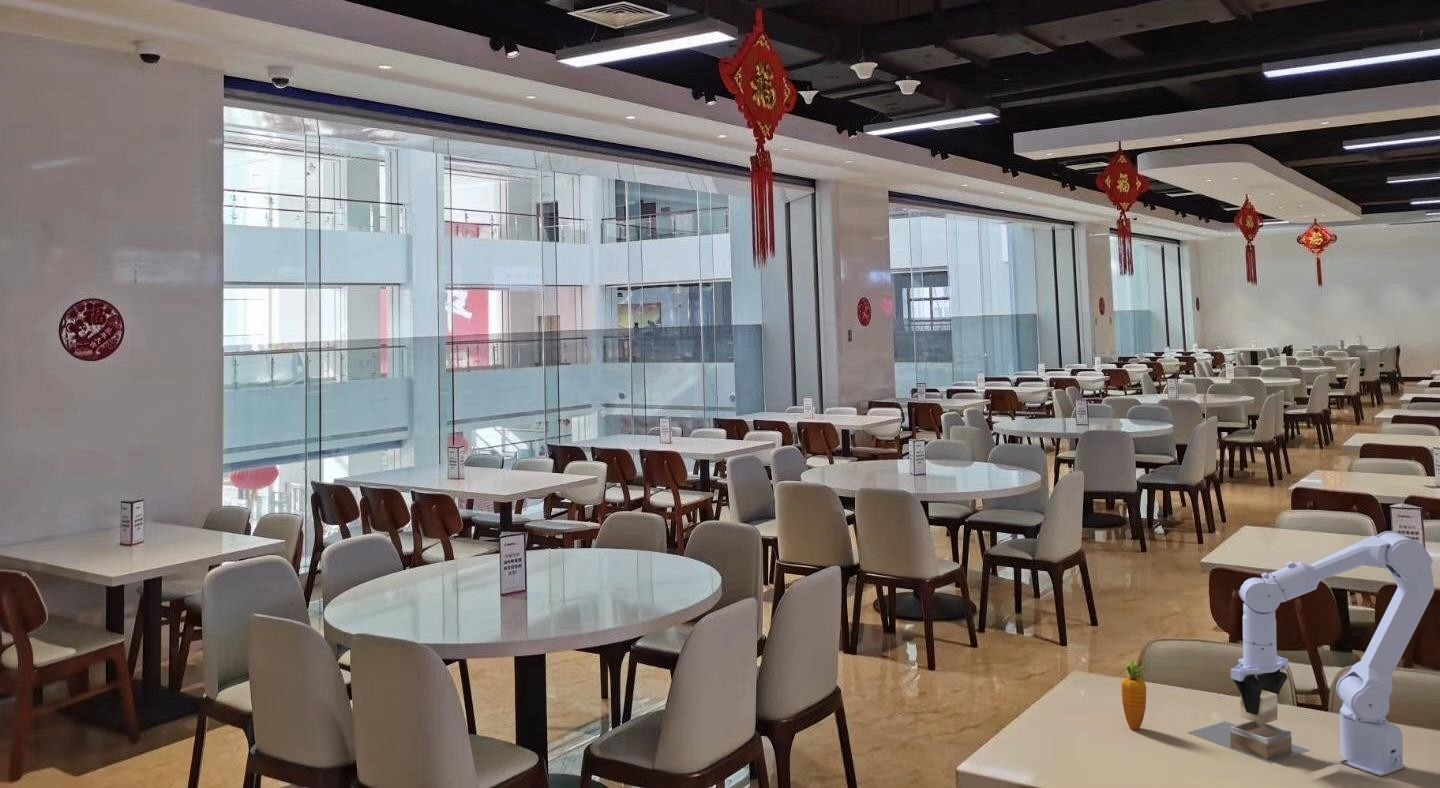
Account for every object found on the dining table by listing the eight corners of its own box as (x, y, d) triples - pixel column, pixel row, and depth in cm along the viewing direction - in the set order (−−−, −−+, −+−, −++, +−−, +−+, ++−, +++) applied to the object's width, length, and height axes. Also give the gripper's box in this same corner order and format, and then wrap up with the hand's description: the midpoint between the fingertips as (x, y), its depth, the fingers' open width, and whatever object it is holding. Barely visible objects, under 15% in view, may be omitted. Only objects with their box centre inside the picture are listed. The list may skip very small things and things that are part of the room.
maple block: (1277, 719, 191) (1277, 694, 191) (1262, 724, 189) (1262, 698, 189) (1255, 712, 195) (1255, 687, 195) (1240, 717, 193) (1240, 691, 193)
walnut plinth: (1291, 751, 191) (1291, 731, 191) (1266, 760, 187) (1266, 739, 187) (1255, 739, 197) (1254, 719, 197) (1230, 746, 194) (1230, 726, 194)
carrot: (1125, 727, 208) (1124, 656, 208) (1150, 732, 205) (1149, 660, 205) (1118, 734, 205) (1117, 662, 204) (1143, 739, 201) (1142, 666, 201)
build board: (1310, 755, 191) (1310, 750, 191) (1270, 768, 186) (1270, 763, 186) (1225, 726, 207) (1225, 721, 207) (1186, 737, 202) (1186, 732, 202)
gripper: (1263, 631, 199) (1264, 697, 199) (1216, 642, 192) (1217, 711, 192) (1298, 639, 192) (1298, 708, 193) (1250, 651, 186) (1250, 722, 186)
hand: (1260, 710), depth 192 cm, fingers closed on maple block, 4 cm apart
